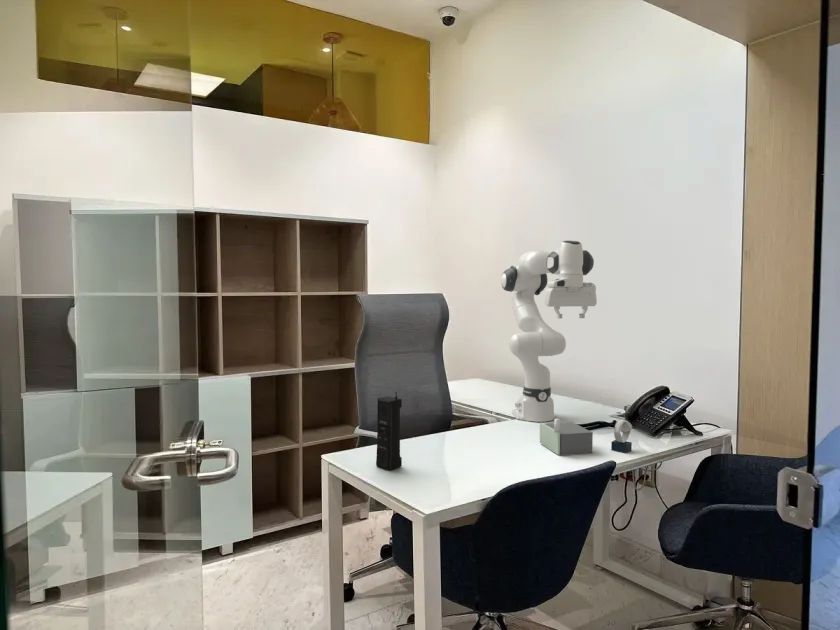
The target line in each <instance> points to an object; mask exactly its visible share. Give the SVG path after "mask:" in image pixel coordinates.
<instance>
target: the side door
mask: <svg viewBox="0 0 840 630" xmlns="http://www.w3.org/2000/svg"><path fill="white" fill-rule="evenodd" d="M553 421H554V422H553V423H554V429H552V428H551V427H549V426H547V425H545V424H546V423H545V422H539V443H540V444H541V445H542V446H544V447H545V448H547V449H548V450H550V451H552V452H553V453H555V454H556V455H558V456H561V455H560V433H559V432H560V423H561V419H560V418H554V419H553Z"/></svg>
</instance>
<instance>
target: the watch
mask: <svg viewBox="0 0 840 630" xmlns="http://www.w3.org/2000/svg"><path fill="white" fill-rule="evenodd" d="M632 429H633V426H632V424H631V422H630V421H628V420H626V419H618V420H617V421H616V422H615V425H614V429H613V430H614V432H613V435H614V440H613V441H611V445H610V446H611V449H610V451H614V452H617V453H623V454H628V453H630V452H632V449H633V448H632V443H633V442H632V441H628V440H629V437H630V434H631V432H632Z"/></svg>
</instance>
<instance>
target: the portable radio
mask: <svg viewBox="0 0 840 630" xmlns="http://www.w3.org/2000/svg"><path fill="white" fill-rule="evenodd" d="M397 394H398V393H397V392H395V397H393V396H381V397H377V426H376V427H377V428H376V429H377V431H376V432H377V435H376V458H375V459H376V462H375V465H376V467H379V468H380V469H384V470H386V471H390V472H391V471H394V470H396V469H397V470H398V469H399V468H401V467H402V463H403V462H402V459H403V458H402V456H401V408H403V406H402V405H403V402H402V401H403V400H402V398H398V396H397Z"/></svg>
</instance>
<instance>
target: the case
mask: <svg viewBox="0 0 840 630" xmlns="http://www.w3.org/2000/svg"><path fill="white" fill-rule="evenodd" d="M544 424H545V425H547V426H549V427H551V428H552V429H554V422H552V423H551V422H550V423H548V422H547V423H544ZM559 433H560V455H559V456H572V455H586V454H587V455H589V454H593V443H594V441H593V440H594V439H593V434H594V433H593V431H591V430H589V429H588V428H587V429H586V428H585V427H583V426H581V425H579V424H577V423H575V422H573V421H569V422H568V421H567V422H560V432H559Z"/></svg>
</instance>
